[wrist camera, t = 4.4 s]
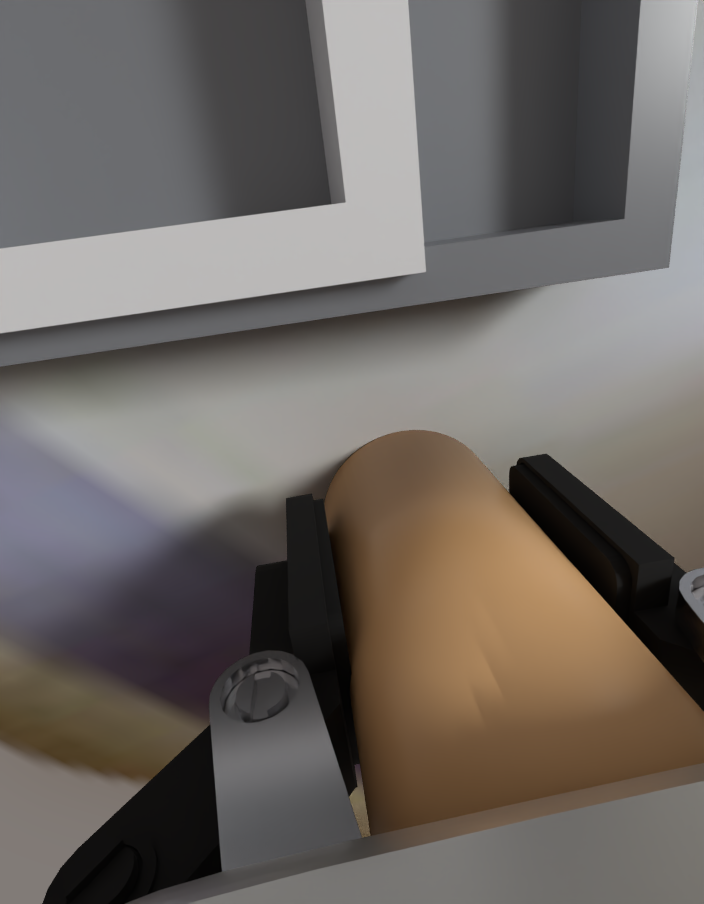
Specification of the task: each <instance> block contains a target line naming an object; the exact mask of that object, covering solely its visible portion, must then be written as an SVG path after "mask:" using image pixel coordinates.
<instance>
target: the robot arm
mask: <svg viewBox="0 0 704 904" xmlns="http://www.w3.org/2000/svg"><path fill="white" fill-rule="evenodd" d="M509 493H510V494H511V495H512V497H513V498H514V499H515V500H516V501H517V502H518V503H519V504H520V506H521V507H522V508H523V509H524V510H525V511H526V512H527V513H528V515H529V516H530V517H531V518H532V519H533V520H534V521H535V522H536V524H537V525H538V526H539V527H540V528H541V529H542V530H543V531H544V533H545V534H546V535H547V536H548V537H549V538H550V539H551V540H552V542H553V543H554V544H555V545H556V546H557V547H558V548H559V549H560V551H561V552H562V553H563V554H564V555H565V556H566V557H567V558H568V560H569V561H570V562H571V563H572V564H573V565H574V566H575V567H576V569H577V570H578V571H579V572H580V573H581V574H582V575H583V576H584V578H585V579H586V580H587V581H588V582H589V583H590V584H591V585H592V587H593V588H594V589H595V590H596V591H597V592H598V593H599V594H600V596H601V597H602V598H603V599H604V600H605V601H606V602H607V603H608V605H609V606H610V607H611V608H612V609H613V610H614V611H615V612H616V614H617V615H618V616H619V617H620V618H621V619H622V620H623V621H624V623H625V624H626V625H627V626H628V627H629V628H630V629H631V630H632V632H633V633H634V634H635V635H636V636H637V637H638V638H639V639H640V640H641V642H642V643H643V644H644V645H645V646H646V647H647V648H648V649H649V651H650V652H651V653H652V654H653V655H654V656H655V657H656V658H657V660H658V661H659V662H660V663H661V664H662V665H663V666H664V667H665V669H666V670H667V671H668V672H669V673H670V674H671V675H672V676H673V678H674V679H675V680H676V681H677V682H678V683H679V684H680V685H681V687H682V688H683V689H684V690H685V691H686V692H687V693H688V694H689V696H690V697H691V698H692V699H693V700H694V701H695V702H696V703H697V705H698V706H699V707H700V708H701V709H702V710H703V711H704V568H700V569H694V570H692V571H690V572H688V573H686V572H685V571H683V570H682V569H681V568H680V567H679V566H677V565H676V564H675V563H674V557H672V556H671V555H670V554H669V553H668V552H666V551H665V550H664V549H663V548H661V547H660V546H659V545H658V544H657V543H655V542H654V541H653V540H652V539H650V538H649V537H648V536H647V535H646V534H644V533H643V532H642V531H641V530H639V529H638V528H637V527H636V526H635V525H633V524H632V523H631V522H630V521H628V520H627V519H626V518H625V517H624V516H622V515H621V514H620V513H619V512H617V511H616V510H615V509H614V508H613V507H611V506H610V505H609V504H608V503H606V502H605V501H604V500H603V499H602V498H600V497H599V496H598V495H597V494H595V493H594V492H593V491H592V490H591V489H589V488H588V487H587V486H586V485H584V484H583V483H582V482H581V481H580V480H578V479H577V478H576V477H575V476H573V475H572V474H571V473H570V472H569V471H567V470H566V469H565V468H564V467H562V466H561V465H560V464H559V463H558V462H556V461H555V460H554V459H553V458H551V457H550V456H549V455H547V454H542V455H536V456H530V457H524V458H519V460H518V461H517V465H516V466H512V467H511V468H510V471H509ZM286 516H287V561H282V562H276V563H270V564H265V565H259V566H257V567H256V574H255V588H254V601H253V615H252V628H251V641H250V655H249V656H246V657H244V658H242V659H240V660H238V661H237V662H235V663H234V664H233V665H231V666H230V667H228V668H227V669H226V670H225V671H224V672H223V673H222V675H221V676H220V677H219V678H218V679H217V680H216V682H215V684H214V686H213V689H212V691H211V693H210V701H209V713H210V725H209V726H208V727H207V728H206V729H205V730H204V731H203V732H202V733H201V734H200V735H198V736H197V737H196V738H195V739H194V740H193V741H192V742H191V743H190V744H189V745H188V746H187V747H186V748H185V749H184V750H182V751H181V752H180V753H179V754H178V755H177V756H176V757H175V758H174V759H173V760H172V761H171V762H170V763H169V764H168V765H166V766H165V767H164V768H163V769H162V770H161V771H160V772H159V773H158V774H157V775H156V776H155V777H154V778H153V779H152V780H151V781H149V782H148V783H147V784H146V785H145V786H144V787H143V788H142V789H141V790H140V791H139V792H138V793H137V794H136V795H135V796H133V797H132V798H131V799H130V800H129V801H128V802H127V803H126V804H125V805H124V806H123V807H122V808H121V809H120V810H119V811H117V812H116V813H115V814H114V815H113V816H112V817H111V818H110V819H109V820H108V821H107V822H106V823H105V824H104V825H103V826H102V827H101V828H99V829H98V830H97V831H96V832H95V833H94V834H93V835H92V836H91V837H90V838H89V839H88V840H87V841H85V843H84V844H82V845H81V846H80V847H79V848H78V849H77V850H76V851H75V852H74V854H73V855H72V856H71V857H70V858H69V859H68V860H67V862H66V863H65V864H64V865H63V866H62V867H61V868H60V870H59V872H58V873H57V875H56V877H55V878H54V880H53V882H52V883H51V885H50V886H49V888H48V890H47V893H46V896H45V898H44V901H43V903H42V904H704V763H701V764H696V765H691V766H687V767H682V768H677V769H673V770H668V771H663V772H659V773H654V774H649V775H645V776H640V777H636V778H631V779H626V780H622V781H617V782H613V783H608V784H603V785H599V786H594V787H590V788H585V789H580V790H576V791H571V792H567V793H562V794H557V795H553V796H548V797H544V798H539V799H534V800H530V801H526V802H521V803H517V804H512V805H508V806H503V807H499V808H494V809H490V810H485V811H481V812H476V813H472V814H467V815H463V816H458V817H454V818H449V819H445V820H440V821H436V822H431V823H427V824H422V825H418V826H413V827H409V828H404V829H400V830H395V831H391V832H386V833H382V834H377V835H373V836H368V837H364V838H362V837H361V833H360V830H359V827H358V824H357V821H356V818H355V815H354V812H353V809H352V805H351V802H350V799H349V796H350V795H351V793H352V792H353V790H354V789H355V788H356V787H357V780H356V773H355V766H354V765H356V764H360V761H359V754H358V747H357V741H356V734H355V727H354V721H353V714H352V707H351V698H350V681H351V674H352V672H351V666H350V660H349V654H348V648H347V642H346V635H345V629H344V623H343V617H342V611H341V605H340V598H339V592H338V586H337V580H336V574H335V568H334V561H333V555H332V549H331V543H330V537H329V531H328V525H327V519H326V513H325V507H324V501H323V499H319V500H313V496H312V494H308V495H302V496H296V497H290V498H286Z"/></svg>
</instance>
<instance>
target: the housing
mask: <svg viewBox="0 0 704 904" xmlns="http://www.w3.org/2000/svg"><path fill="white" fill-rule="evenodd" d="M697 5H698V0H0V367H1V366H8V365H15V364H22V363H28V362H35V361H42V360H49V359H55V358H62V357H69V356H76V355H82V354H89V353H96V352H103V351H109V350H116V349H123V348H129V347H136V346H143V345H150V344H156V343H163V342H170V341H177V340H183V339H190V338H197V337H204V336H210V335H217V334H224V333H231V332H237V331H244V330H251V329H258V328H264V327H271V326H278V325H285V324H291V323H298V322H305V321H312V320H318V319H325V318H332V317H339V316H345V315H352V314H359V313H366V312H372V311H379V310H386V309H392V308H399V307H406V306H413V305H419V304H426V303H433V302H440V301H446V300H453V299H460V298H467V297H473V296H480V295H487V294H494V293H500V292H507V291H514V290H521V289H527V288H534V287H541V286H548V285H554V284H561V283H568V282H575V281H581V280H588V279H595V278H602V277H608V276H615V275H622V274H629V273H635V272H642V271H649V270H656V269H662V268H669V262H670V253H671V244H672V234H673V225H674V216H675V207H676V198H677V189H678V179H679V170H680V161H681V152H682V143H683V134H684V124H685V115H686V106H687V97H688V88H689V79H690V69H691V60H692V51H693V42H694V33H695V23H696V14H697Z"/></svg>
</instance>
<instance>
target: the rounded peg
mask: <svg viewBox="0 0 704 904" xmlns="http://www.w3.org/2000/svg"><path fill="white" fill-rule="evenodd" d="M324 507H325V513H326V519H327V525H328V531H329V537H330V543H331V549H332V555H333V561H334V568H335V574H336V580H337V586H338V592H339V598H340V605H341V611H342V617H343V623H344V629H345V635H346V642H347V648H348V654H349V660H350V666H351V672H352V674H351V681H350V698H351V707H352V714H353V721H354V727H355V734H356V741H357V747H358V754H359V761H360V767H361V774H362V781H363V788H364V794H365V801H366V808H367V814H368V821H369V828H370V834H371V836H373V835H377V834H382V833H386V832H391V831H395V830H400V829H404V828H409V827H413V826H418V825H422V824H427V823H431V822H436V821H440V820H445V819H449V818H454V817H458V816H463V815H467V814H472V813H476V812H481V811H485V810H490V809H494V808H499V807H503V806H508V805H512V804H517V803H521V802H526V801H530V800H534V799H539V798H544V797H548V796H553V795H557V794H562V793H567V792H571V791H576V790H580V789H585V788H590V787H594V786H599V785H603V784H608V783H613V782H617V781H622V780H626V779H631V778H636V777H640V776H645V775H649V774H654V773H659V772H663V771H668V770H673V769H677V768H682V767H687V766H691V765H696V764H701V763H704V711H703V710H702V709H701V708H700V707H699V706H698V705H697V703H696V702H695V701H694V700H693V699H692V698H691V697H690V696H689V694H688V693H687V692H686V691H685V690H684V689H683V688H682V687H681V685H680V684H679V683H678V682H677V681H676V680H675V679H674V678H673V676H672V675H671V674H670V673H669V672H668V671H667V670H666V669H665V667H664V666H663V665H662V664H661V663H660V662H659V661H658V660H657V658H656V657H655V656H654V655H653V654H652V653H651V652H650V651H649V649H648V648H647V647H646V646H645V645H644V644H643V643H642V642H641V640H640V639H639V638H638V637H637V636H636V635H635V634H634V633H633V632H632V630H631V629H630V628H629V627H628V626H627V625H626V624H625V623H624V621H623V620H622V619H621V618H620V617H619V616H618V615H617V614H616V612H615V611H614V610H613V609H612V608H611V607H610V606H609V605H608V603H607V602H606V601H605V600H604V599H603V598H602V597H601V596H600V594H599V593H598V592H597V591H596V590H595V589H594V588H593V587H592V585H591V584H590V583H589V582H588V581H587V580H586V579H585V578H584V576H583V575H582V574H581V573H580V572H579V571H578V570H577V569H576V567H575V566H574V565H573V564H572V563H571V562H570V561H569V560H568V558H567V557H566V556H565V555H564V554H563V553H562V552H561V551H560V549H559V548H558V547H557V546H556V545H555V544H554V543H553V542H552V540H551V539H550V538H549V537H548V536H547V535H546V534H545V533H544V531H543V530H542V529H541V528H540V527H539V526H538V525H537V524H536V522H535V521H534V520H533V519H532V518H531V517H530V516H529V515H528V513H527V512H526V511H525V510H524V509H523V508H522V507H521V506H520V504H519V503H518V502H517V501H516V500H515V499H514V498H513V497H512V495H511V494H510V493H509V492H508V491H507V490H506V489H505V488H504V487H503V485H502V484H501V483H500V482H499V481H498V480H497V479H496V478H495V476H494V475H493V474H492V473H491V472H490V471H489V470H488V469H487V467H486V466H485V465H484V464H483V463H482V462H481V461H480V460H479V458H478V457H477V456H476V455H475V454H474V453H473V452H472V451H471V450H470V449H469V448H468V447H466V446H465V445H464V444H462V443H461V442H459V441H458V440H456V439H454V438H451V437H449V436H447V435H444V434H440V433H437V432H432V431H425V430H409V431H401V432H396V433H392V434H388V435H385V436H383V437H380V438H377V439H376V440H374V441H372V442H370V443H368V444H366V445H365V446H363V447H362V448H360V449H359V450H357V451H356V452H355V453H354V454H353V455H351V456H350V457H349V458H348V459H347V460H346V461H345V462H344V464H343V465H342V466H341V467H340V469H339V470H338V471H337V473H336V474H335V476H334V478H333V480H332V482H331V483H330V486H329V488H328V491H327V494H326V498H325V503H324Z"/></svg>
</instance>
